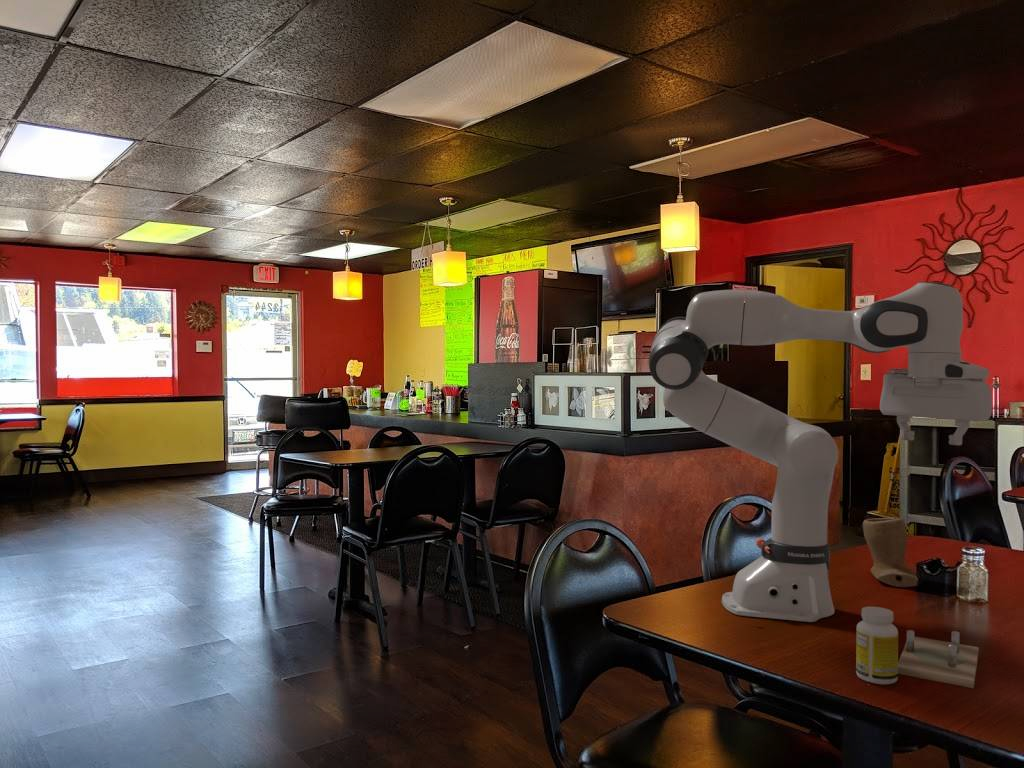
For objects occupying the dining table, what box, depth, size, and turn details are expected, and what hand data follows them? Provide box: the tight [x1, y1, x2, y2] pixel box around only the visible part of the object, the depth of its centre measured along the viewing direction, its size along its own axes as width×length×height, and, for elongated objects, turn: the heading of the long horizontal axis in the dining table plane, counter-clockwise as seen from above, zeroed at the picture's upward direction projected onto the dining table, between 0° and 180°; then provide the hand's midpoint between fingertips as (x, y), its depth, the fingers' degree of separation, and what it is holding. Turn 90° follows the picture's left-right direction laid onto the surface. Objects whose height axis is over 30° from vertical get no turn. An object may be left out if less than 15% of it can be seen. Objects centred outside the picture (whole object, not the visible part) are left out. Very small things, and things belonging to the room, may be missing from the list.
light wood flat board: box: [898, 635, 979, 689], centre depth 134 cm, size 18×11×1 cm, turn 147°
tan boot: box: [862, 516, 918, 588], centre depth 188 cm, size 15×12×15 cm
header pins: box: [905, 629, 961, 667], centre depth 135 cm, size 9×8×4 cm
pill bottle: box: [855, 606, 899, 685], centre depth 127 cm, size 6×6×11 cm
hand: (930, 442), depth 148 cm, fingers open, 8 cm apart
